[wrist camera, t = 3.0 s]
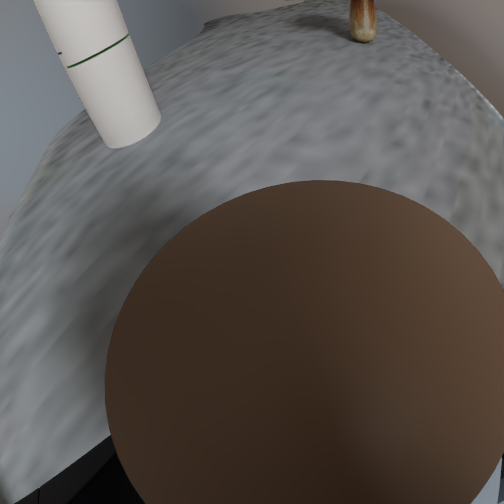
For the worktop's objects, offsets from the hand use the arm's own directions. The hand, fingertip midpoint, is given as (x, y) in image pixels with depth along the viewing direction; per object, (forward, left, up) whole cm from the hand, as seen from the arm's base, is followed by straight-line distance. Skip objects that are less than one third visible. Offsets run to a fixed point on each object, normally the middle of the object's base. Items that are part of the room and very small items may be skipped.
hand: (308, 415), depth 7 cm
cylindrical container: (+27, +18, -9) cm, 34 cm away
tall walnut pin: (0, 0, -8) cm, 8 cm away
